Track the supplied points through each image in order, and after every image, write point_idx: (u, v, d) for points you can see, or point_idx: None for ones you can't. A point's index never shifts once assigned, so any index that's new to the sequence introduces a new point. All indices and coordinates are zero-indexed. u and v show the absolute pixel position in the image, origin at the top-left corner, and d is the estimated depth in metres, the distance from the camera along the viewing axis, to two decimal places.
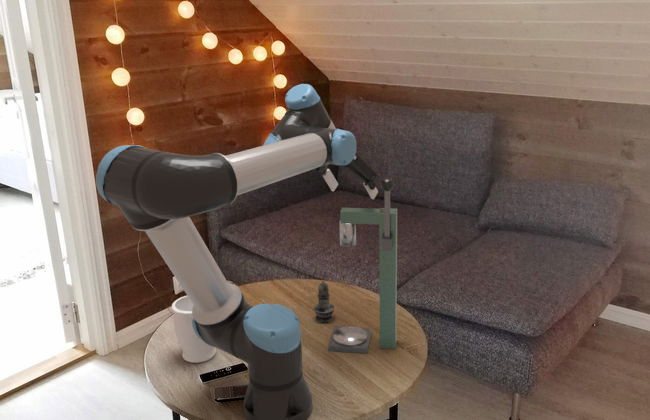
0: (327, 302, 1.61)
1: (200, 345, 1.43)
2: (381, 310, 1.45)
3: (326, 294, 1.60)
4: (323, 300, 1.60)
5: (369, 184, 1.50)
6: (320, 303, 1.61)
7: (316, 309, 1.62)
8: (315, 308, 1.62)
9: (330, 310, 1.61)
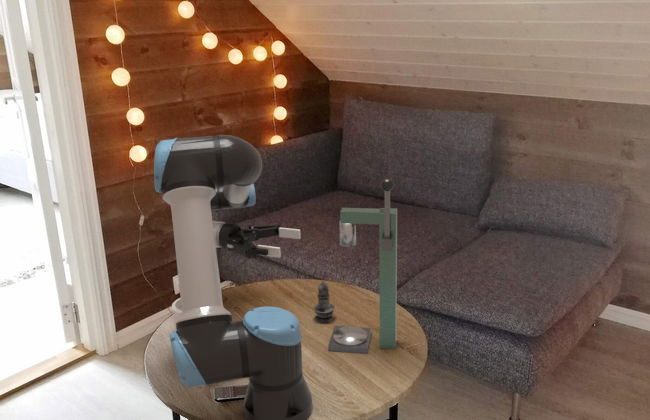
0: (327, 302, 1.61)
1: None
2: (381, 310, 1.45)
3: (326, 294, 1.60)
4: (323, 300, 1.60)
5: None
6: (320, 303, 1.61)
7: (316, 309, 1.62)
8: (315, 308, 1.62)
9: (330, 310, 1.61)
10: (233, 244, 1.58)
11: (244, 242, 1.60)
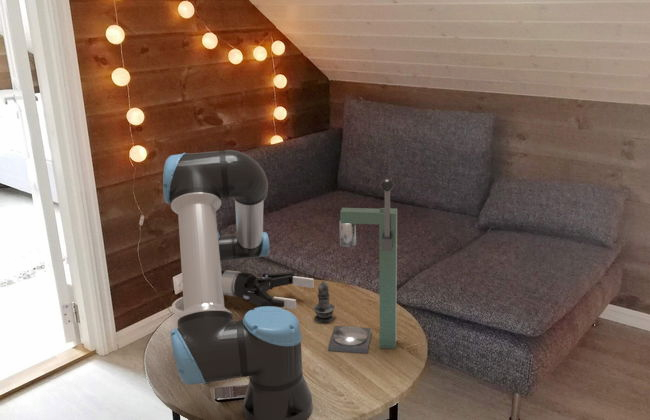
0: (327, 302, 1.61)
1: None
2: (381, 310, 1.45)
3: (326, 294, 1.60)
4: (323, 300, 1.60)
5: None
6: (320, 303, 1.61)
7: (316, 309, 1.62)
8: (315, 308, 1.62)
9: (330, 310, 1.61)
10: (249, 295, 1.62)
11: (260, 293, 1.64)
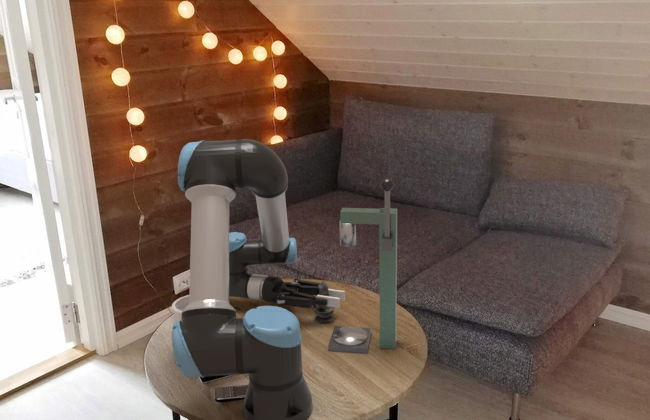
0: None
1: None
2: (381, 310, 1.45)
3: (326, 294, 1.60)
4: None
5: None
6: None
7: (316, 309, 1.62)
8: (315, 308, 1.62)
9: (330, 310, 1.61)
10: (286, 299, 1.59)
11: (295, 295, 1.62)
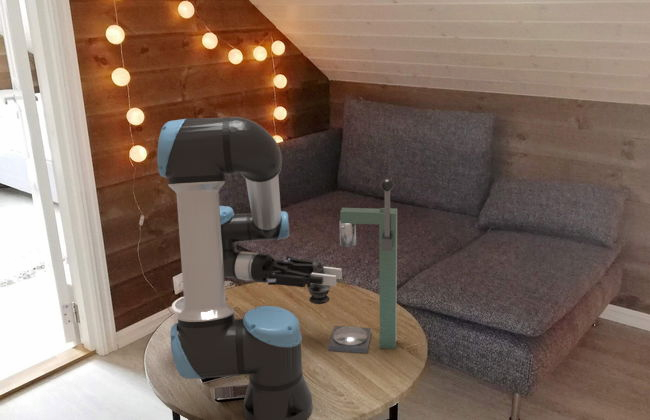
0: None
1: None
2: (381, 310, 1.45)
3: (321, 272, 1.46)
4: None
5: None
6: None
7: (310, 288, 1.48)
8: (309, 287, 1.48)
9: (325, 289, 1.47)
10: (277, 277, 1.45)
11: (287, 273, 1.48)
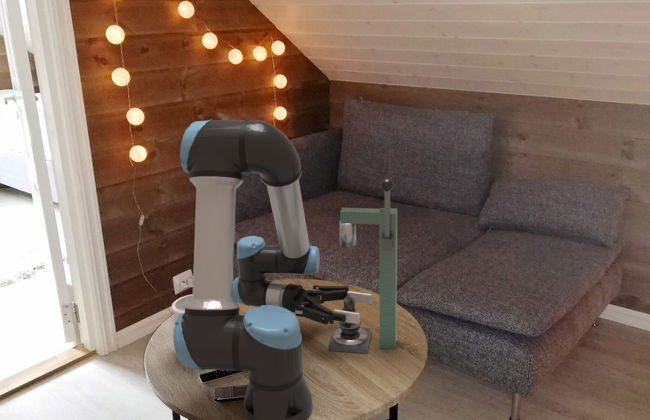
0: None
1: None
2: (381, 310, 1.45)
3: (352, 308, 1.48)
4: None
5: None
6: None
7: (341, 325, 1.49)
8: (340, 323, 1.50)
9: (356, 326, 1.49)
10: (303, 310, 1.46)
11: (314, 306, 1.48)
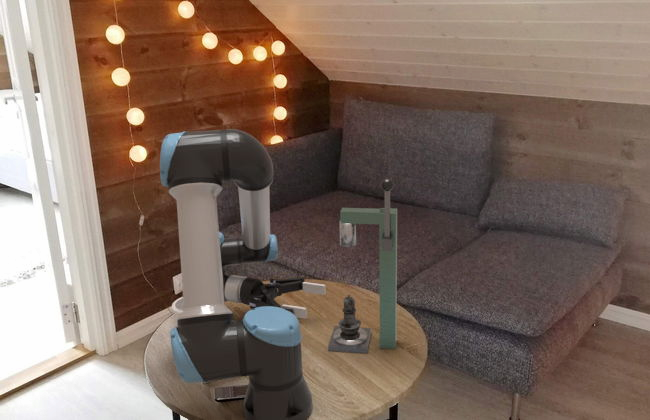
0: (353, 317, 1.49)
1: None
2: (381, 310, 1.45)
3: (352, 309, 1.48)
4: (349, 315, 1.48)
5: None
6: (346, 318, 1.49)
7: (341, 325, 1.49)
8: (340, 324, 1.50)
9: (356, 326, 1.49)
10: (256, 303, 1.50)
11: (267, 300, 1.52)
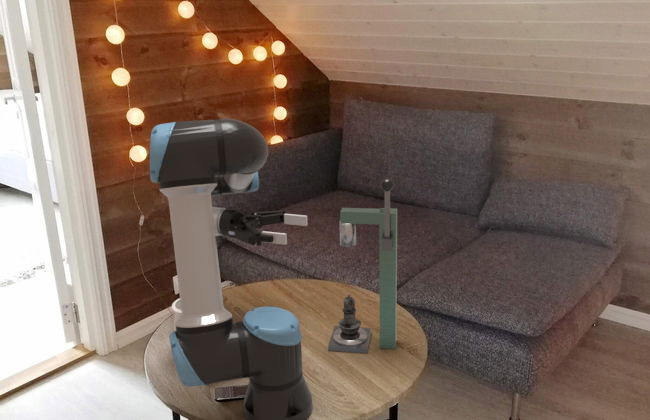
0: (353, 317, 1.49)
1: None
2: (381, 310, 1.45)
3: (352, 309, 1.48)
4: (349, 315, 1.48)
5: None
6: (346, 318, 1.49)
7: (341, 325, 1.49)
8: (340, 324, 1.50)
9: (356, 326, 1.49)
10: (235, 231, 1.46)
11: (247, 229, 1.48)
